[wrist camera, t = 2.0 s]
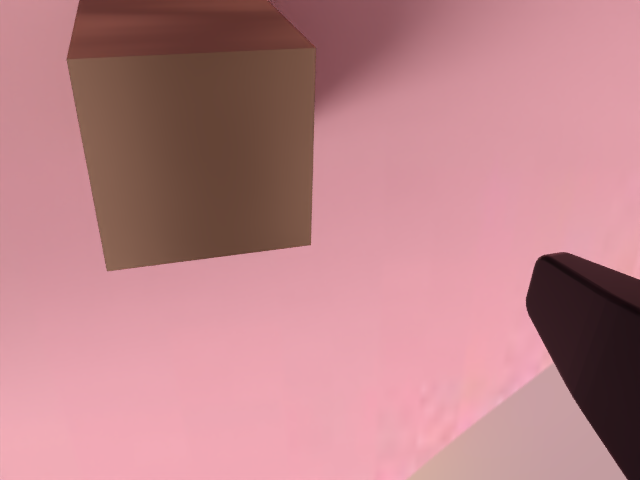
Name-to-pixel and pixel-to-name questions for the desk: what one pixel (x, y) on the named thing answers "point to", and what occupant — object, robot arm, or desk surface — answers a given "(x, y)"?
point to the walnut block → (194, 127)
